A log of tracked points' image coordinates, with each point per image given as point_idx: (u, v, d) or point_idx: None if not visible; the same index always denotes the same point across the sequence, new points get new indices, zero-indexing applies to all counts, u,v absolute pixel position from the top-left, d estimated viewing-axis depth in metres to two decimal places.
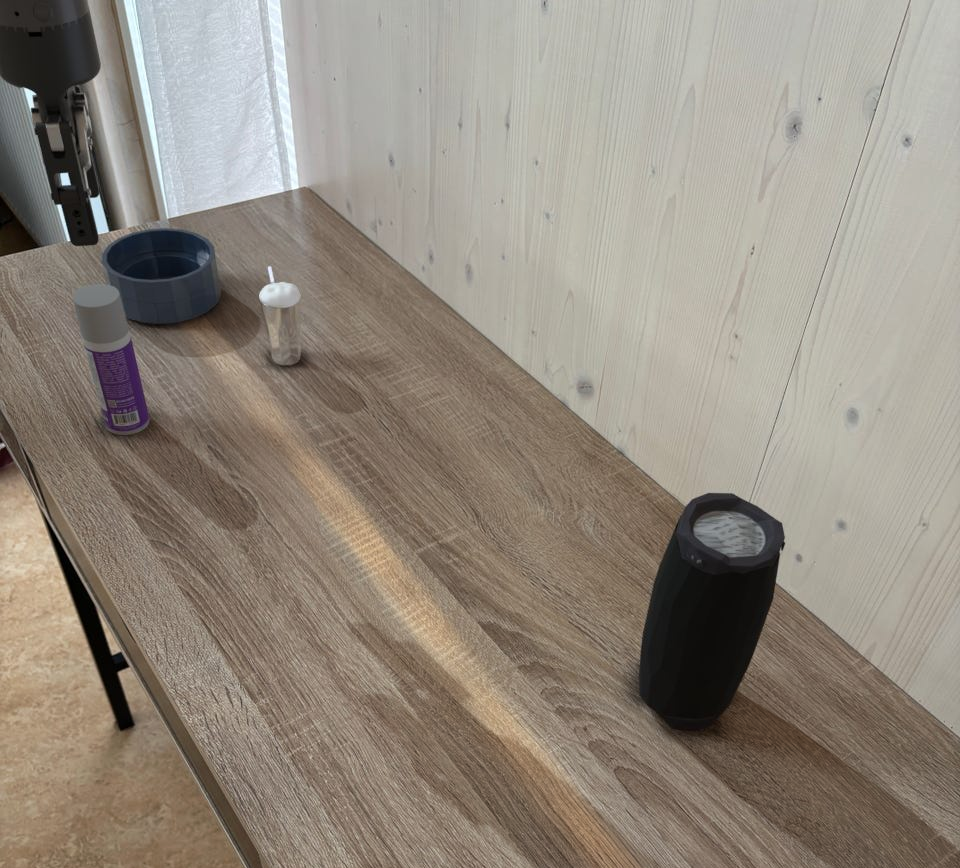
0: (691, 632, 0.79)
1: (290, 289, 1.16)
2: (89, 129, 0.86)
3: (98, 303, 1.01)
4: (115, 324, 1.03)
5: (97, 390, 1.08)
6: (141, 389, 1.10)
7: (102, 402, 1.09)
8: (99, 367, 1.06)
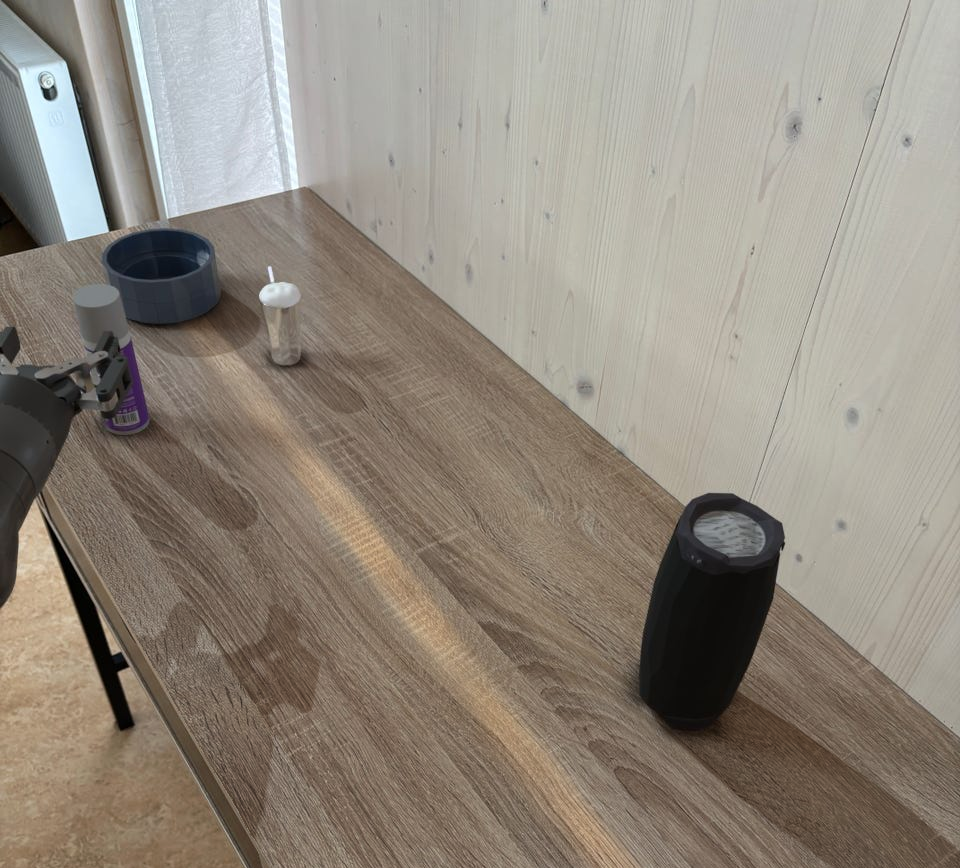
0: (691, 632, 0.79)
1: (290, 289, 1.16)
2: None
3: (98, 303, 1.01)
4: (115, 324, 1.03)
5: None
6: (141, 389, 1.10)
7: None
8: None
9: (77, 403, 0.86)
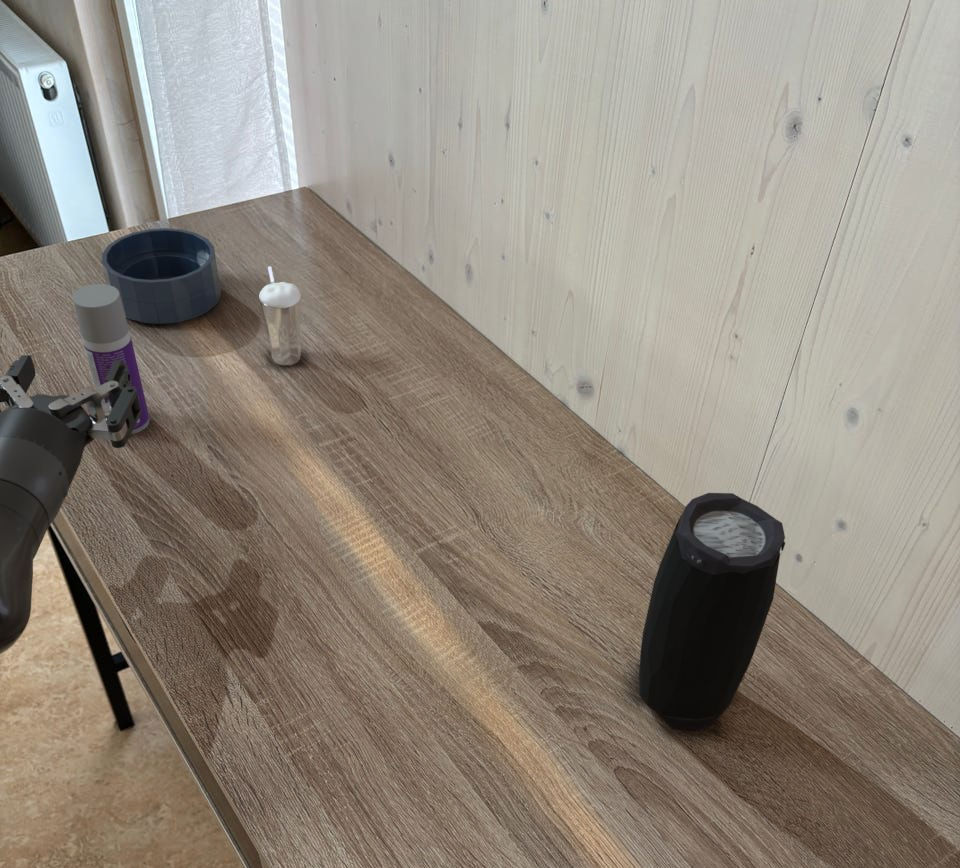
0: (691, 632, 0.79)
1: (290, 289, 1.16)
2: None
3: (98, 303, 1.01)
4: (115, 324, 1.03)
5: None
6: (141, 389, 1.10)
7: (102, 402, 1.09)
8: (99, 367, 1.06)
9: (89, 433, 0.91)
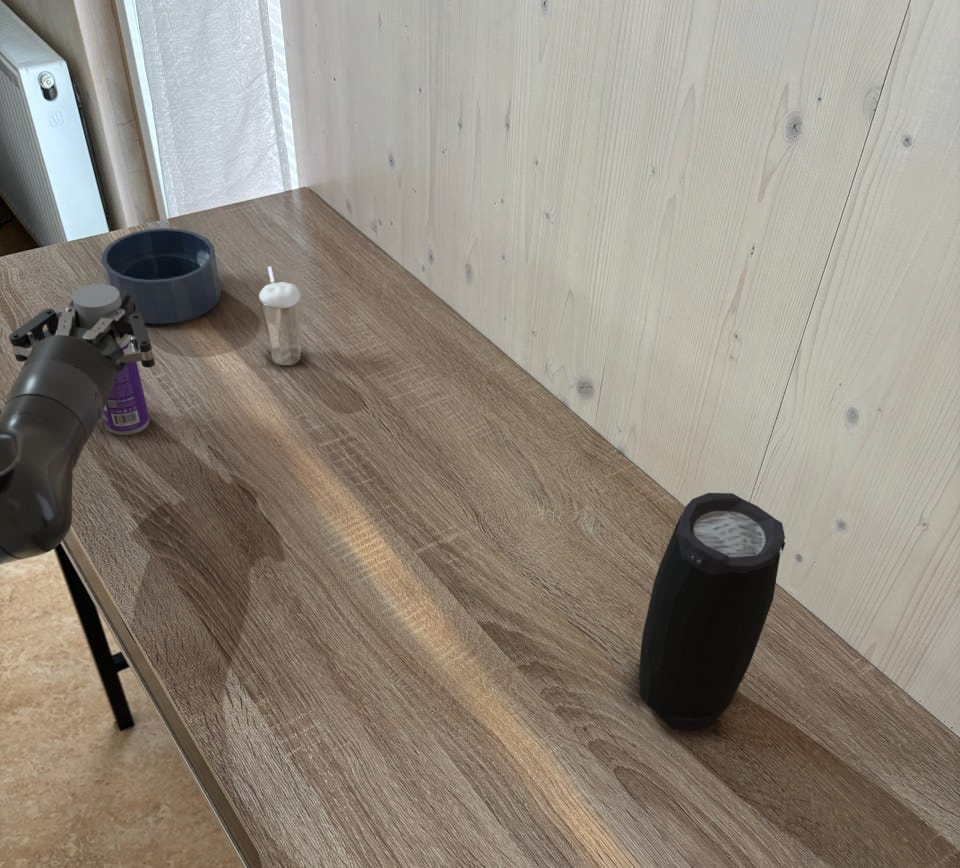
0: (691, 632, 0.79)
1: (290, 289, 1.16)
2: None
3: (98, 303, 1.01)
4: None
5: None
6: (141, 389, 1.10)
7: None
8: None
9: (122, 359, 0.98)
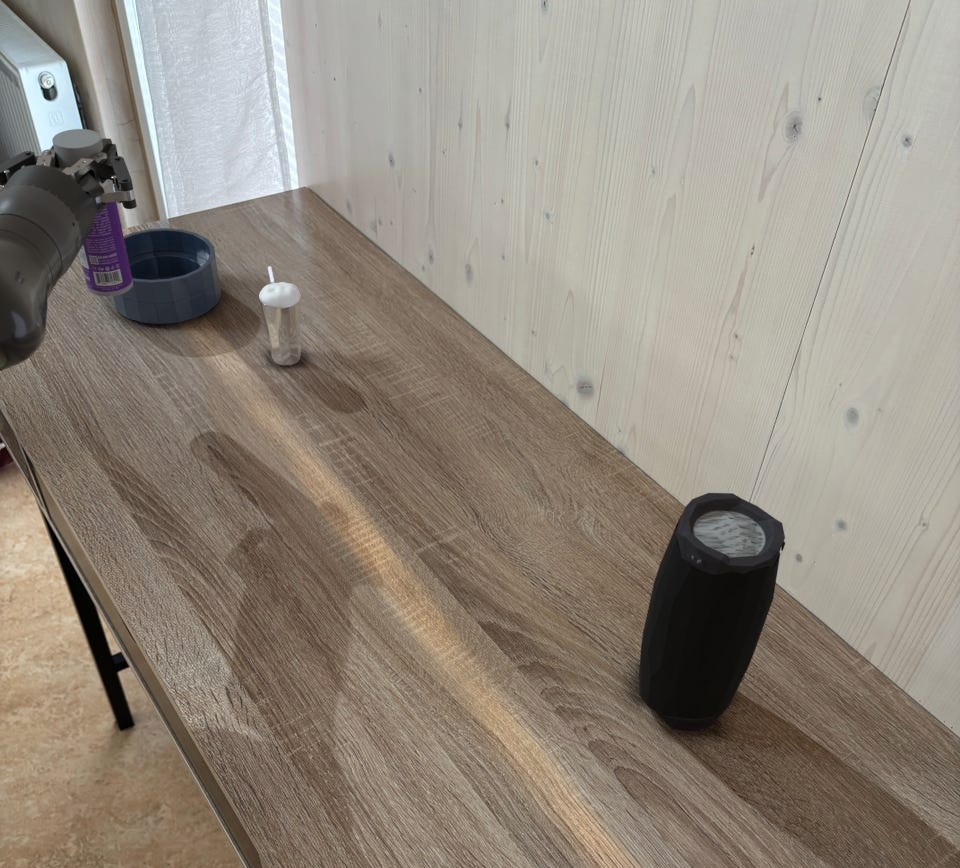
0: (691, 632, 0.79)
1: (290, 289, 1.16)
2: None
3: (79, 145, 0.98)
4: None
5: None
6: (124, 247, 1.07)
7: (83, 258, 1.06)
8: None
9: (103, 197, 0.95)
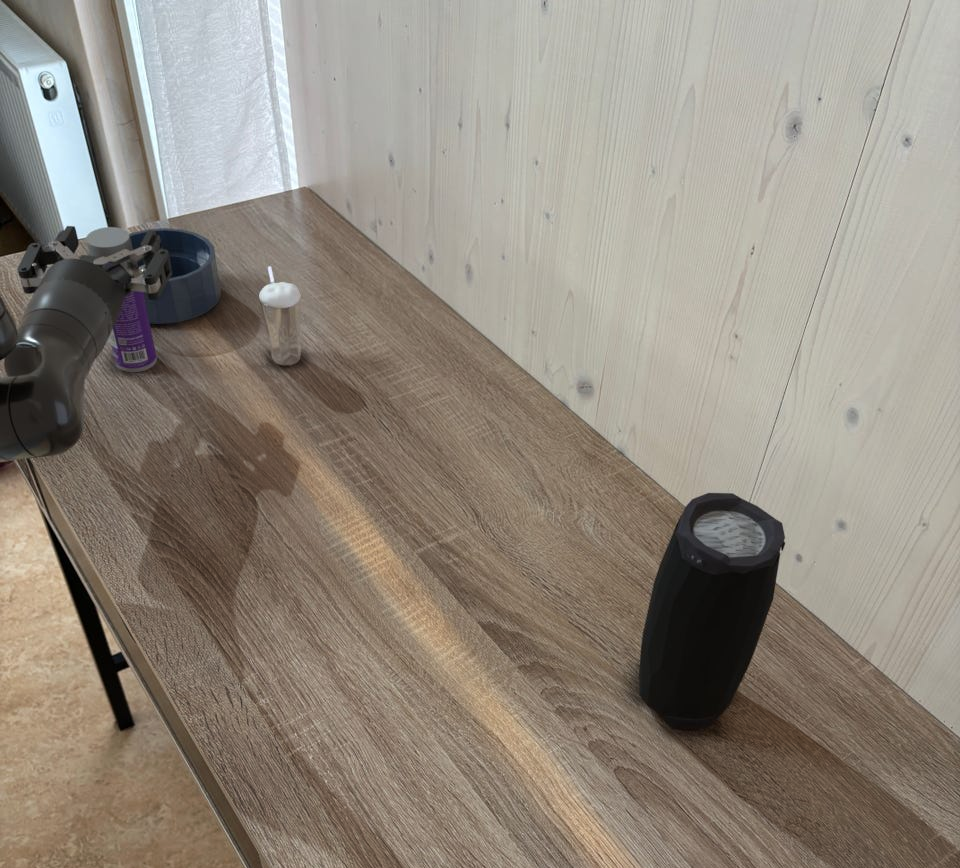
0: (691, 632, 0.79)
1: (290, 289, 1.16)
2: None
3: (110, 244, 1.09)
4: None
5: None
6: (149, 328, 1.18)
7: (112, 340, 1.17)
8: None
9: (128, 286, 1.05)
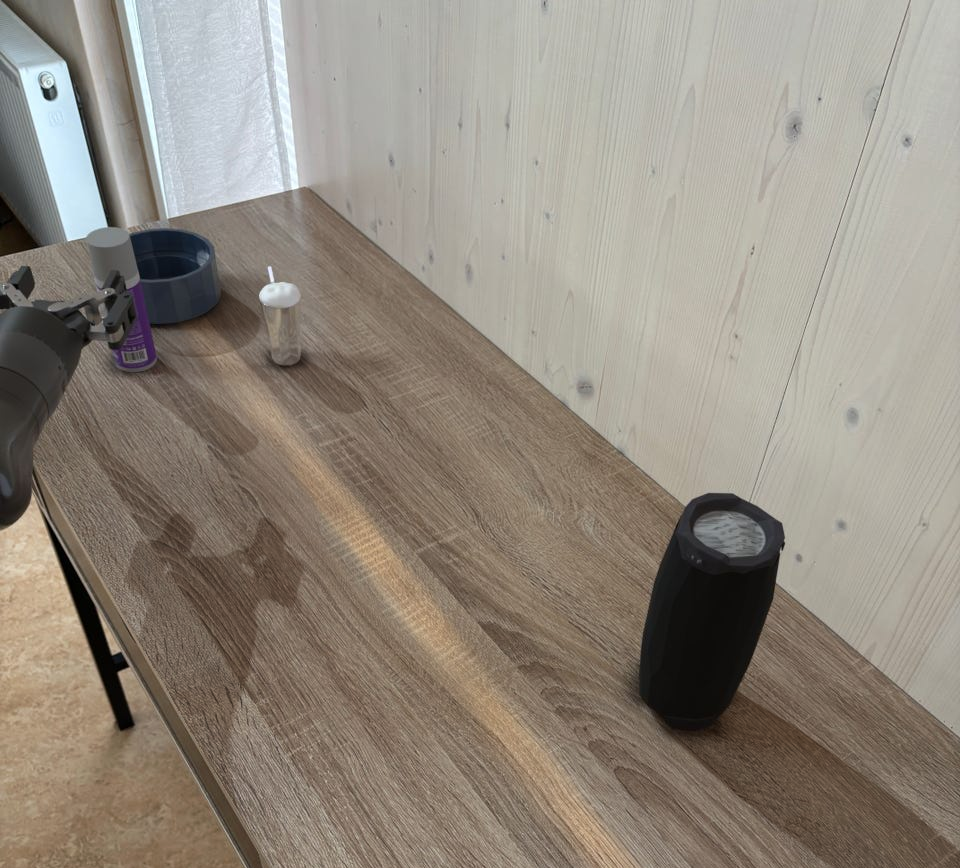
0: (691, 632, 0.79)
1: (290, 289, 1.16)
2: None
3: (110, 244, 1.09)
4: (125, 264, 1.11)
5: None
6: (149, 328, 1.18)
7: None
8: None
9: (86, 335, 0.95)
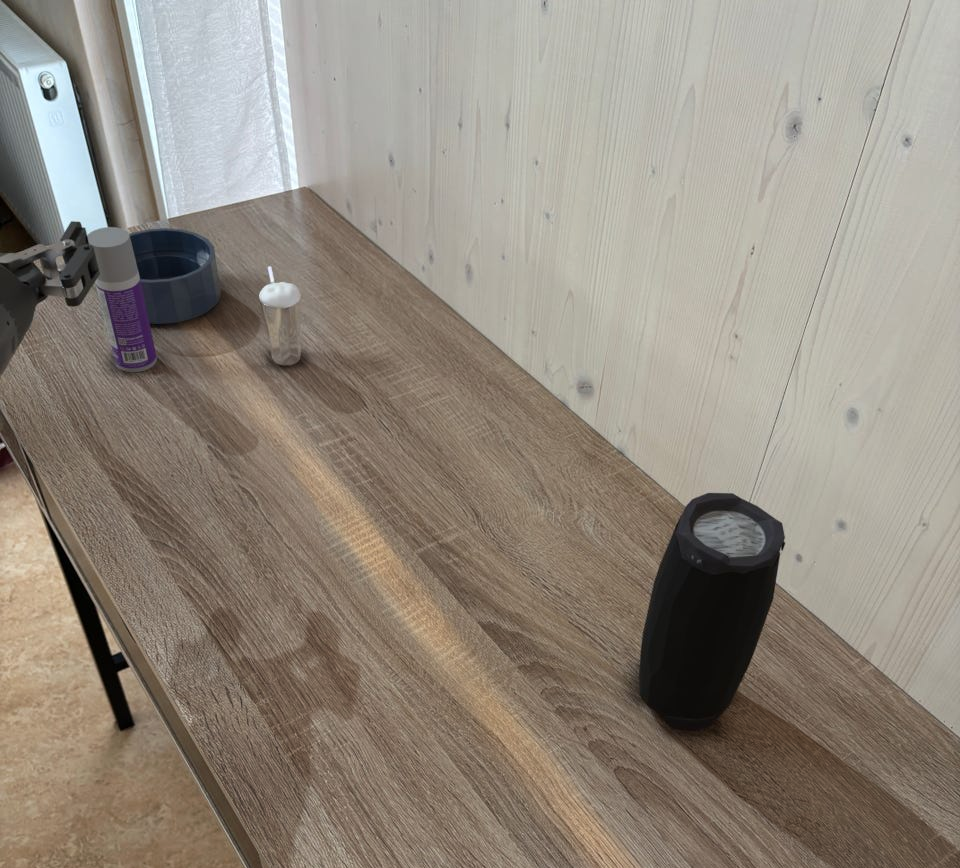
0: (691, 632, 0.79)
1: (290, 289, 1.16)
2: None
3: (110, 244, 1.09)
4: (125, 264, 1.11)
5: (108, 328, 1.16)
6: (149, 328, 1.18)
7: (112, 340, 1.17)
8: (110, 305, 1.13)
9: (41, 289, 0.85)
